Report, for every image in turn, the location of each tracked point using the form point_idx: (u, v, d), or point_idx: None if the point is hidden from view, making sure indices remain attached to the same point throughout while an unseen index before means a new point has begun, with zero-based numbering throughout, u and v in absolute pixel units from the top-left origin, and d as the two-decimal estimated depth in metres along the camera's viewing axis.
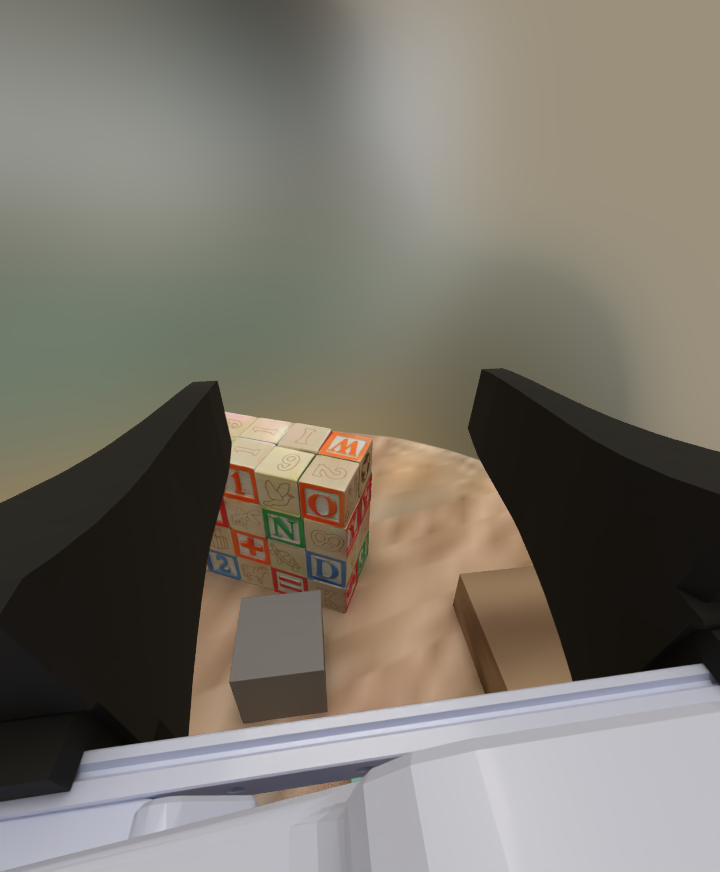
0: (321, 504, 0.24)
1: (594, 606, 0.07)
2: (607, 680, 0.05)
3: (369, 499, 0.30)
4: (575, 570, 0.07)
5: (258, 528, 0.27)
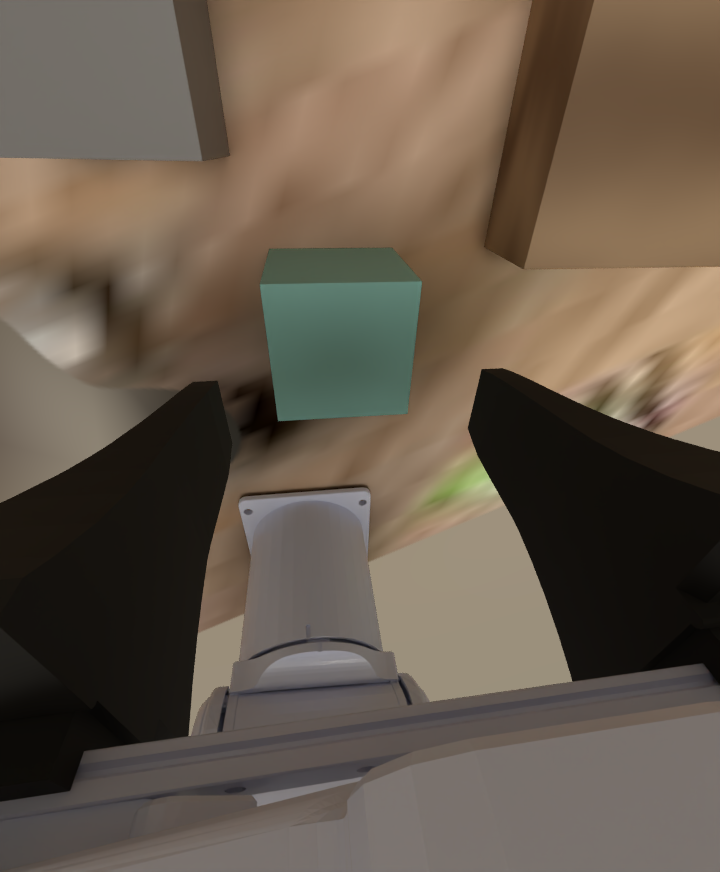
0: None
1: (594, 606, 0.07)
2: (607, 680, 0.05)
3: None
4: (575, 570, 0.07)
5: None
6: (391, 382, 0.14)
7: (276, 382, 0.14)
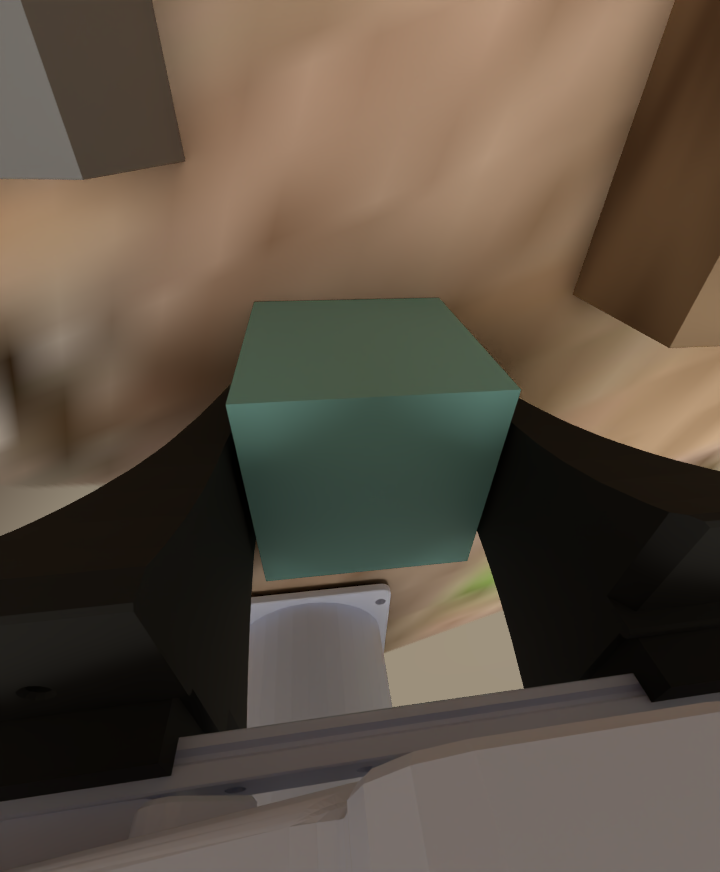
0: None
1: (540, 612, 0.07)
2: (607, 680, 0.05)
3: None
4: (524, 576, 0.07)
5: None
6: (448, 526, 0.09)
7: (262, 536, 0.08)
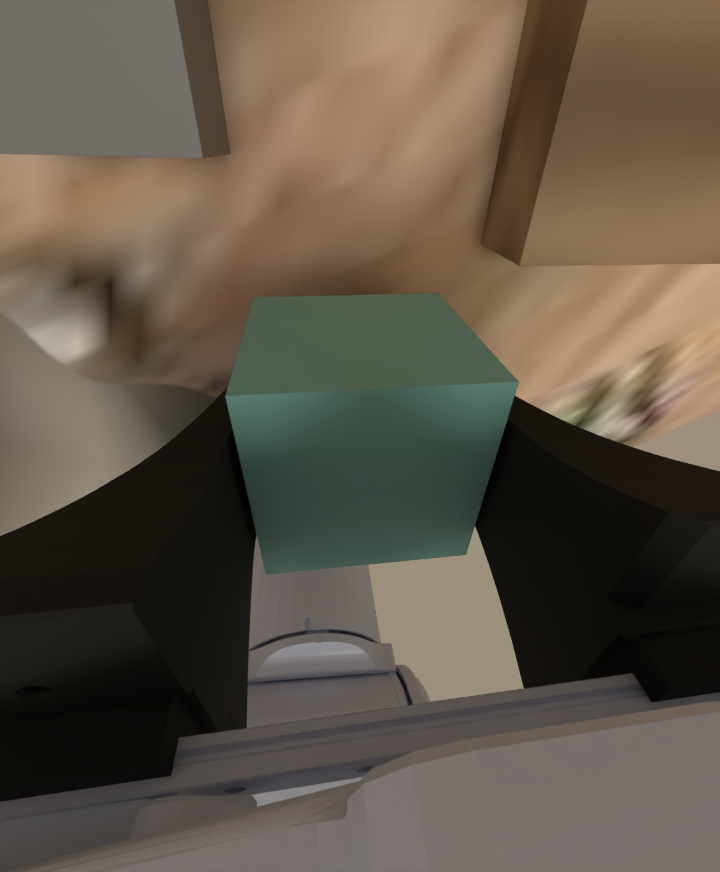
0: None
1: (540, 613, 0.07)
2: (607, 680, 0.05)
3: None
4: (524, 576, 0.07)
5: None
6: (446, 520, 0.09)
7: (261, 529, 0.08)
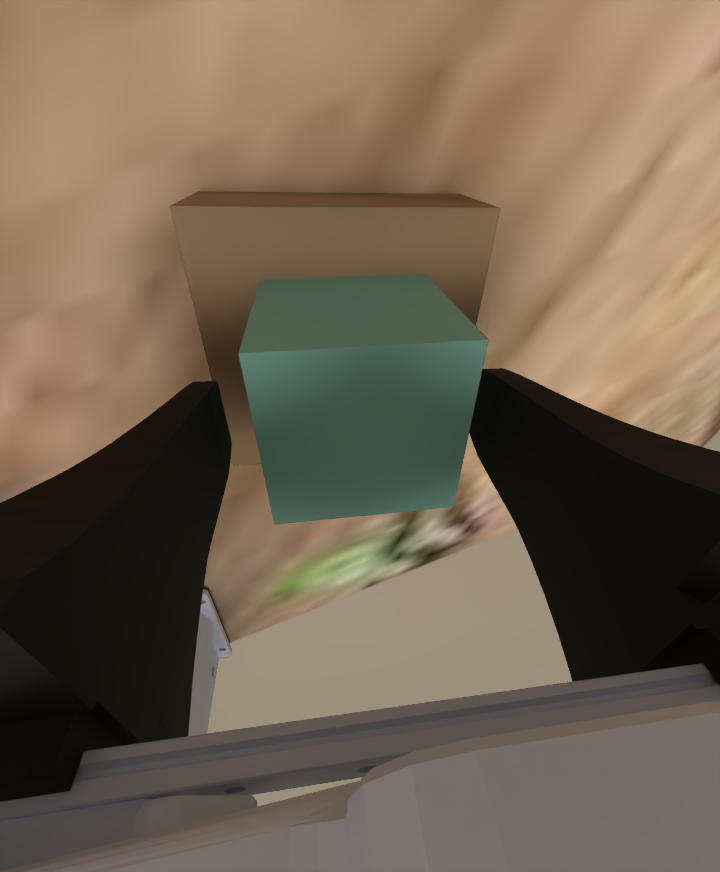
0: None
1: (593, 606, 0.07)
2: (607, 680, 0.05)
3: None
4: (575, 570, 0.07)
5: None
6: (434, 471, 0.10)
7: (270, 479, 0.09)
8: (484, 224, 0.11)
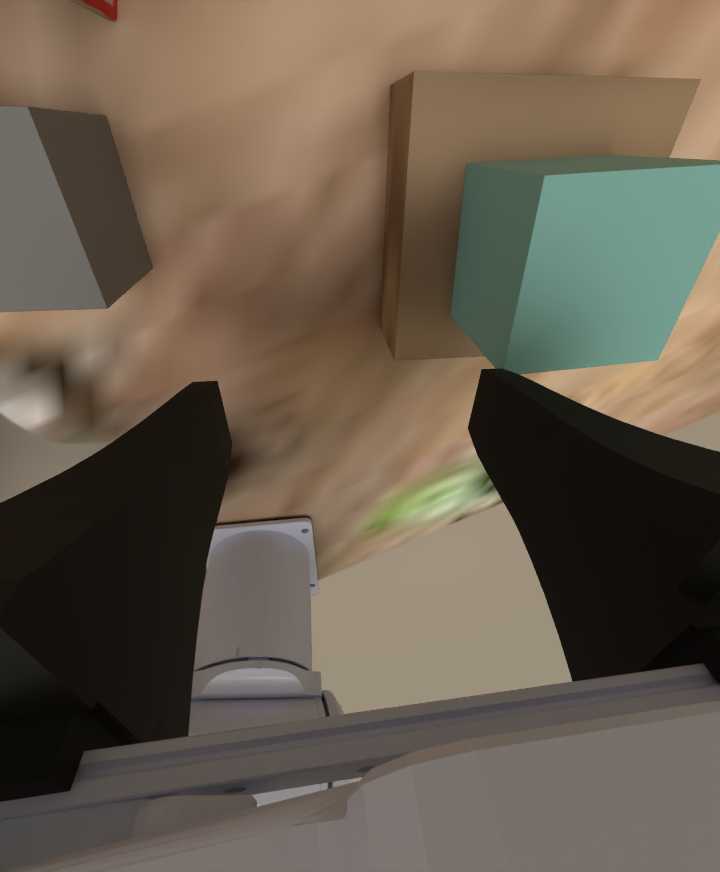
0: None
1: (593, 606, 0.07)
2: (607, 680, 0.05)
3: None
4: (575, 570, 0.07)
5: None
6: (656, 317, 0.11)
7: (517, 322, 0.11)
8: (682, 96, 0.12)
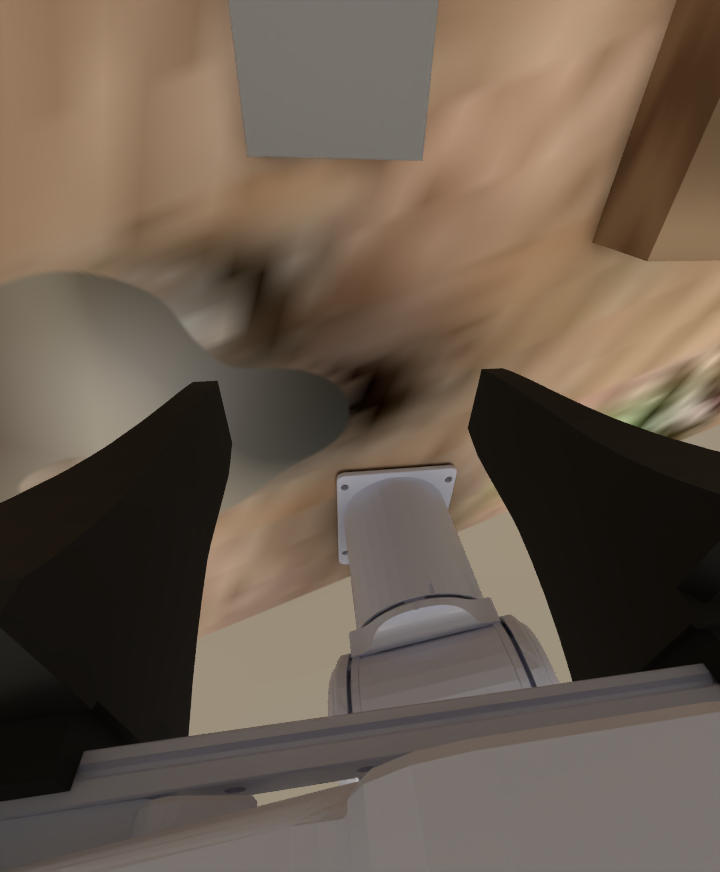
0: None
1: (593, 606, 0.07)
2: (607, 680, 0.05)
3: None
4: (575, 570, 0.07)
5: None
6: None
7: None
8: None
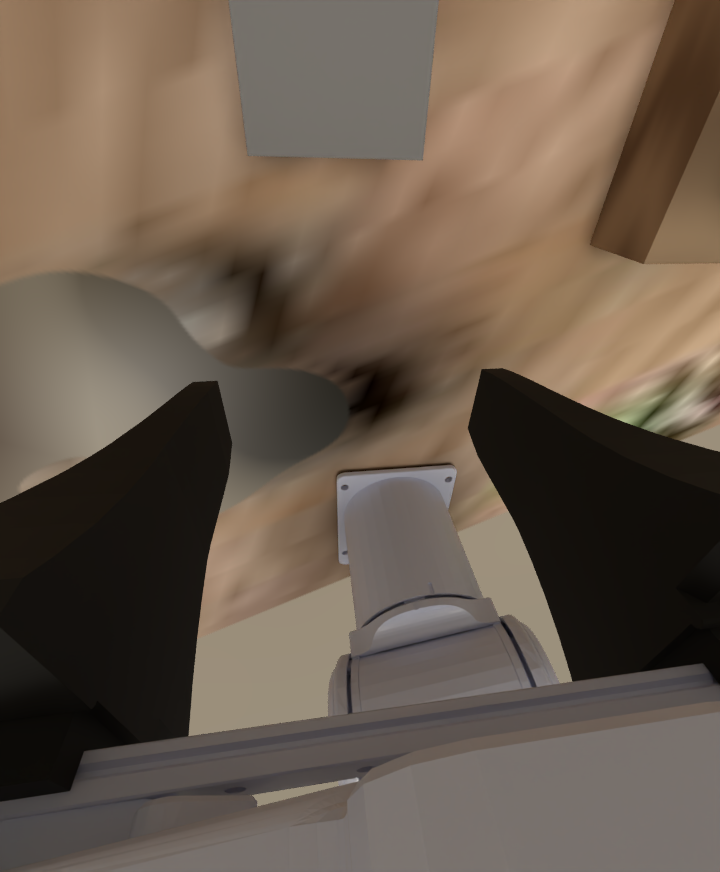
0: None
1: (593, 606, 0.07)
2: (607, 680, 0.05)
3: None
4: (575, 570, 0.07)
5: None
6: None
7: None
8: None
